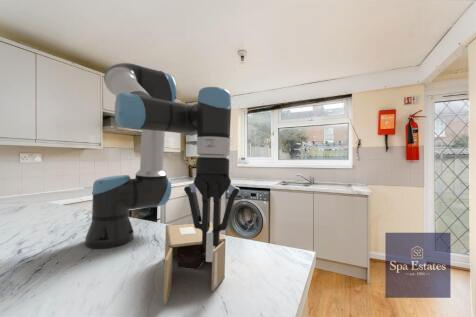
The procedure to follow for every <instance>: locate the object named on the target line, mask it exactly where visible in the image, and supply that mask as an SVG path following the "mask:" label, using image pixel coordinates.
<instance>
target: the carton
mask: <svg viewBox="0 0 476 317" xmlns="http://www.w3.org/2000/svg"><path fill="white" fill-rule="evenodd" d="M209 229H213V221H210V227H209ZM222 242H224V278H225V277H226V276H225V275H226V274H225V273H226V272H225V271H226V269H225V267H226V238H225V236H224V235H223V234H222V233H221V232H220V237H219V244H218V246H219V245H220V244H221V243H222ZM164 243H165V244H164V245H165V246H164V249H165V250H164V260H165V259H166V257H167V254H168V252H169V250H170V248H172V259H175V258H176V259H178V247H179V246H188V245H196V244H202V230H200V229H196V228H195V227H194V222H191V223H178V224H167V225H165V242H164ZM216 247H217V246H215V248H216ZM204 250H205V251H204V255H206V245H205V249H204ZM224 278H223V279H224Z"/></svg>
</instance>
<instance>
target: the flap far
mask: <svg viewBox="0 0 476 317" xmlns="http://www.w3.org/2000/svg"><path fill="white" fill-rule="evenodd" d="M223 279H224V242H222V243H221V244H220V245H219V246H217V247H216V248H215V249H214V251H213V261H212V262H211V291H212V292H214V291H215V290H216V288H218V286H219V284H220V283H221V282H222V280H223Z"/></svg>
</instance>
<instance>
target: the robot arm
mask: <svg viewBox="0 0 476 317" xmlns="http://www.w3.org/2000/svg"><path fill="white" fill-rule="evenodd" d="M103 78H104V79H103V81H104V84H105V87H106V89H108V91H109V92H110V93H111V94H112V95H114V96H115V102H114V120H115V123H116V125H117V126H118V127H121V128H128V129H132V130H141V136H140V137H141V142H140V160H139V161H140V162H139V163H140V164H139V170H137V171H136V173H135V178H131V176H130V175H129V174H128V175H127V174H124V175H123V174H122V175H112V176H107V177H101V178H97V179H95V181H94V182H93V185H92V192H91V195H92V206H91V208H92V209H91V211H92V212H91V222H90V225H89V228H88V230H87V233H86V236H85V239H84V241H85V242H84V244H85V246H86V247H88V248H91V249H107V248H108V249H109V248H115V247H119V246H121V245H124V244H127V243H129V242H131V241H132V240H133V239H134V233H135V232H134V229H133V226H132V222H131V220H130V210H138V209H145V208H157V207H162V206H165V205H167V203H168V202H169V200H170V197H171V194H172V181H171V179H170V178H169V177H167V173H166V171H164V157H165V156H164V155H165V154H164V153H165V136H166V133H175V134H181V135H183V136H195V135H196V136H197V137H196V155H197V156H199V157H197V158H196V165H195V167H196V169H195V170H196V171H195V172H196V173H195V174H196V175H195V178H194V179H193V182H192V183H190V184H189V185H187V186H185V187H184V188H183V190H184V192H185V194H186V196H187V197H188V202H189V203H188V204H189V208H190V212H191V216H192V223H194V227H195V228H196V229H200V230H202V244H203V245H206V254H205V262H207V263H212V261H213V251H214V249H215V246H218V244H219V237H220V233H221V231H226V229H227V228H228V226H229V222H230V218H231V214H232V211H233V208H234V204H235V200H236V198H237V195H238V194H239V192H241V188H240V187H238V186H235V185H234V184H233V183H232V180H231V178H230V159H229V158H228V156H230V155H231V154H230V152H231V150H230V148H231V147H230V146H231V138H230V136H231V118H232V117H231V116H232V115H231V114H232V105H231V103H232V102H231V101H232V99H231V93H230V92H229V91H228V90H227V89H225V88H222V87H219V86H218V87H217V86H206V87H202V88H200V89H199V91H198V95H197V96H198V97H197V100H196V101H197V103H194V104H188V103H187V104H186V103H181V102H176V97H177V84H176V81H175V79H174V77H173V76H172V74H170V73H167V72H164V71H162V70H156V69H152V68H148V67H146V66H143V65H139V64H135V63H129V62H128V63H127V62H123V63H115V64H113V65H111V66H110V67H109V68H108V69H106V71H105V73H104V76H103ZM197 190H198V192H199V193H200V195H201V202H202V209H200V204H199V199H198V196H197ZM227 190H228V195H229V197H228V198H227V199H228V200H227V203H226V206H225V209H224V214H223V217H221V213H222V209H221V208H222V196H223V195H224V194H225V193H226V192H227ZM211 199H212V202H213V213H212V224H213V229H209V227H210V222H211ZM201 210H202V211H201ZM201 212H202V213H201ZM221 218H222V222H221Z"/></svg>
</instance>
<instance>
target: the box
mask: <svg viewBox="0 0 476 317" xmlns="http://www.w3.org/2000/svg"><path fill="white" fill-rule="evenodd" d="M204 249H205V245H203V244H196V245H188V246H179V247H178V257H177V266H176V267H177V268H180V269H188V270H195V271H196V270H198V269H199V268H200V267H201V266H202V264H203V263H204V262H205V254H204V251H205V250H204Z"/></svg>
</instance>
